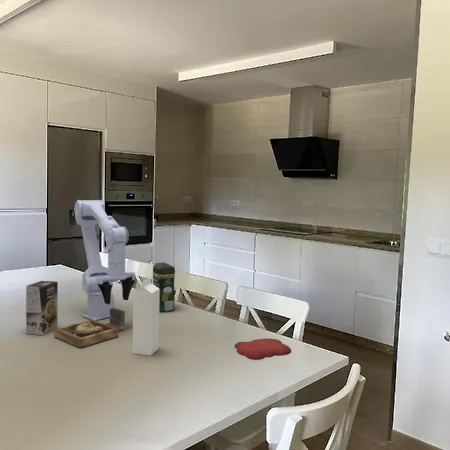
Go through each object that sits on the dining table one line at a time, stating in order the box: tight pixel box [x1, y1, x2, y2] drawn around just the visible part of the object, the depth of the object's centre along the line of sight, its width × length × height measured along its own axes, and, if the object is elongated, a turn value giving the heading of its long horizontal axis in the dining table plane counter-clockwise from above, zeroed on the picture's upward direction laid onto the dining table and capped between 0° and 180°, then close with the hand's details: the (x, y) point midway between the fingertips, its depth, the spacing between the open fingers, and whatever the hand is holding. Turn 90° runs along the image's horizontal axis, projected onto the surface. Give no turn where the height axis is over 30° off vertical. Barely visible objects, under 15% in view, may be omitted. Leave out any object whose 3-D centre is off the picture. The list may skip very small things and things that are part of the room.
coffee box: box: [25, 280, 59, 336], centre depth 156 cm, size 9×6×16 cm
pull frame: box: [53, 307, 126, 348], centre depth 154 cm, size 20×14×6 cm
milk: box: [132, 277, 160, 357], centre depth 141 cm, size 6×6×22 cm
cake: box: [74, 321, 104, 338], centre depth 153 cm, size 10×10×5 cm
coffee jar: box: [152, 262, 176, 313], centre depth 186 cm, size 10×8×19 cm
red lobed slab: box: [234, 337, 292, 361], centre depth 146 cm, size 18×14×2 cm
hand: (116, 301), depth 161 cm, fingers open, 7 cm apart
